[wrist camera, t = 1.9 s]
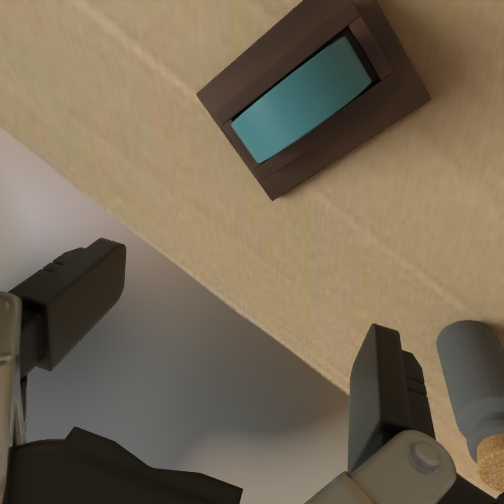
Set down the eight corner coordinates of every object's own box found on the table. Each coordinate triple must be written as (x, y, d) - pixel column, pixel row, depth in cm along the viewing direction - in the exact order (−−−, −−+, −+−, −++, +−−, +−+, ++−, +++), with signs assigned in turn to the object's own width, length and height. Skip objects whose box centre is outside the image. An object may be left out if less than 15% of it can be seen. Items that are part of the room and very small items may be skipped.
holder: (200, 93, 37) (181, 98, 33) (352, -40, 30) (351, -53, 26) (274, 197, 40) (264, 213, 36) (429, 97, 33) (438, 104, 29)
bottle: (437, 318, 42) (473, 440, 29) (501, 320, 40) (569, 450, 27) (434, 363, 44) (465, 493, 31) (494, 366, 43) (553, 505, 30)
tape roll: (248, 114, 36) (213, 134, 27) (346, 37, 32) (342, 32, 23) (271, 147, 37) (244, 177, 28) (370, 77, 32) (374, 87, 24)
